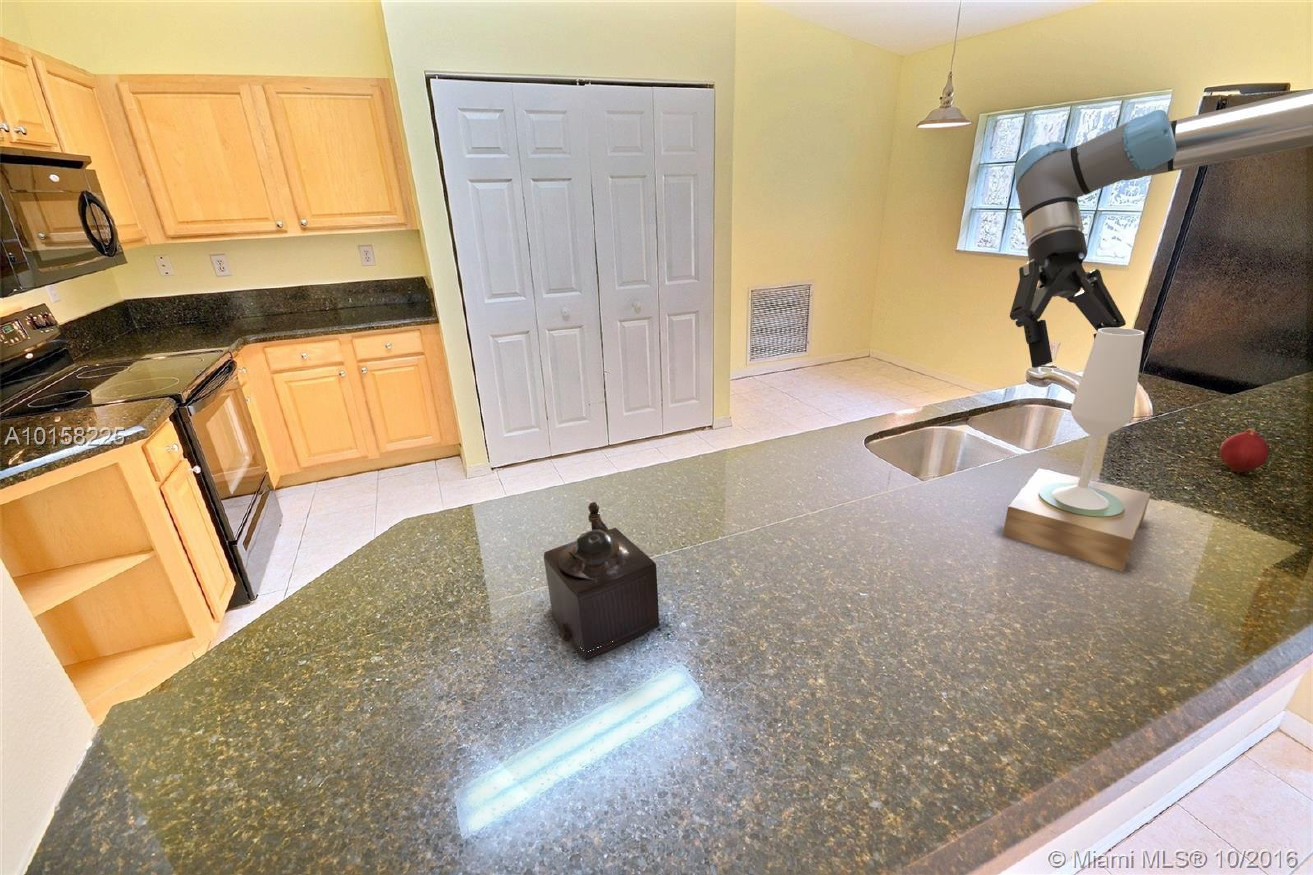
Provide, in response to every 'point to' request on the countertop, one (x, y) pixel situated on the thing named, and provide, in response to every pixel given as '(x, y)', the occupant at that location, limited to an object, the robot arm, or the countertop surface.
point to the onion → (1244, 451)
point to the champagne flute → (1103, 403)
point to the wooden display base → (1077, 520)
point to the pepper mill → (601, 589)
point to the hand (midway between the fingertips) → (1077, 368)
